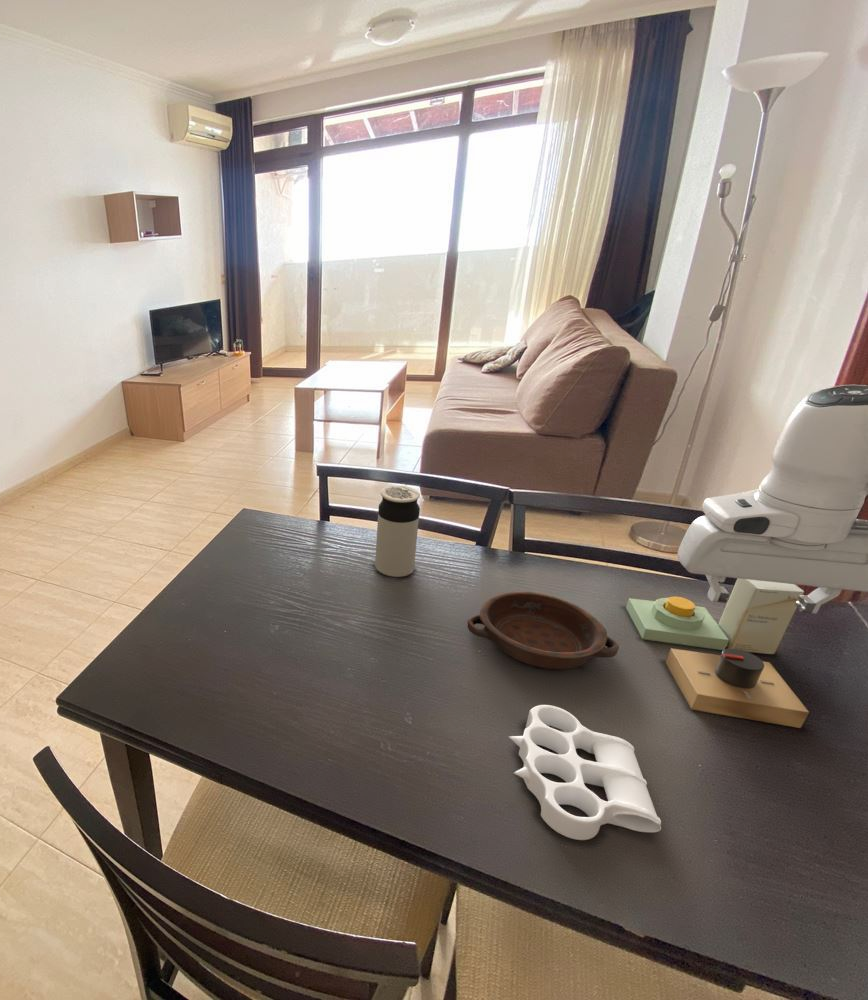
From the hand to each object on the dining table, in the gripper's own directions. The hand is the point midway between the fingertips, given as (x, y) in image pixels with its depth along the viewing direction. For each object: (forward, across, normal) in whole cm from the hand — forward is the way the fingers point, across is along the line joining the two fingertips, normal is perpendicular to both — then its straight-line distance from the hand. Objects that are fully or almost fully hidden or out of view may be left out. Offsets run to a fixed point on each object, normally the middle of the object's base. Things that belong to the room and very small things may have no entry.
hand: (759, 605), depth 74 cm
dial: (+13, -1, 0) cm, 13 cm away
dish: (+16, +23, -5) cm, 29 cm away
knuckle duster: (+16, +23, +22) cm, 36 cm away
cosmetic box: (+16, -8, -13) cm, 22 cm away
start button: (+12, +1, -15) cm, 19 cm away
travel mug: (+16, +47, -24) cm, 55 cm away
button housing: (+16, +1, -15) cm, 21 cm away
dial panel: (+16, -1, 0) cm, 16 cm away
